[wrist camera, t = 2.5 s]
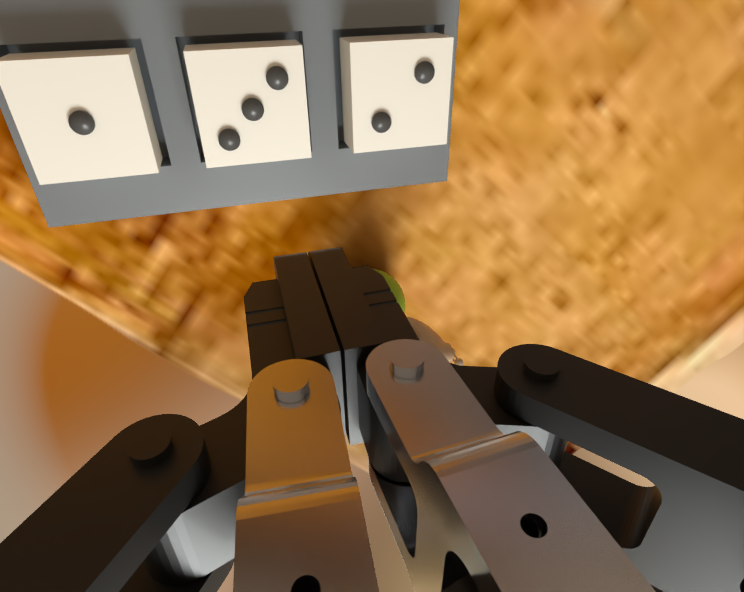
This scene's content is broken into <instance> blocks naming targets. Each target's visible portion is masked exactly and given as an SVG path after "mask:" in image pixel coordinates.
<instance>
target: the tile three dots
mask: <svg viewBox="0 0 744 592" xmlns="http://www.w3.org/2000/svg"><path fill="white" fill-rule="evenodd" d="M183 53H184V58H185V63H186V68H187V73H188V78H189V83H190V88H191V93H192V98H193V103H194V108H195V112H196V117H197V122H198V127H199V132H200V137H201V142H202V147H203V152H204V157H205V162H206V167H207V168H214V167H224V166H234V165H244V164H254V163H264V162H274V161H284V160H294V159H304V158H312V157H311V145H310V133H309V121H308V109H307V97H306V85H305V73H304V61H303V49H302V45H301V44H300V43H299V42H298V41H296V40H295V39H292V40H272V41H252V42H232V43H212V44H192V45H185V47H184V50H183Z"/></svg>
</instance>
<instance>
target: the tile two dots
mask: <svg viewBox="0 0 744 592" xmlns="http://www.w3.org/2000/svg"><path fill="white" fill-rule="evenodd" d="M339 41H340V63H341V84H342V106H343V128H344V142H345V143H346V144H347V145H348V147H349V148H350V149H351V151H352V152H353V153H363V152H373V151H383V150H393V149H403V148H413V147H423V146H433V145H443V144H447V131H448V116H449V101H450V86H451V71H452V56H453V41H454V37H451V36H447V35H444V34H440V33H437V32H433V33H413V34H393V35H372V36H352V37H339Z"/></svg>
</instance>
